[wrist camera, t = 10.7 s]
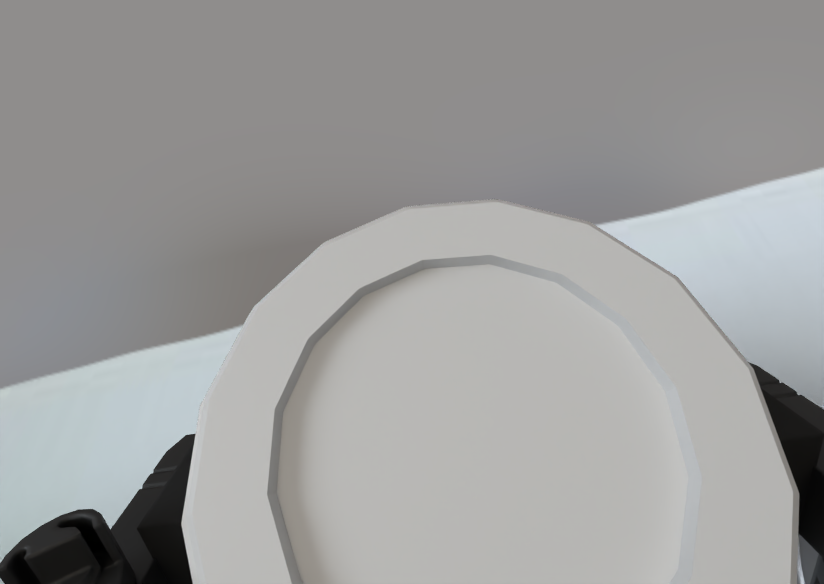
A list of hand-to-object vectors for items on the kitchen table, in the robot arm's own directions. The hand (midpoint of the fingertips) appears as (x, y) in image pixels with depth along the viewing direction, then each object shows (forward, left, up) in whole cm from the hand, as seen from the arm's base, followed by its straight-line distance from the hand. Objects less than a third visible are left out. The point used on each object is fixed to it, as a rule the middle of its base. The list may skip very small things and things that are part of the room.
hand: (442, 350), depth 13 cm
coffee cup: (-3, +2, -5) cm, 6 cm away
